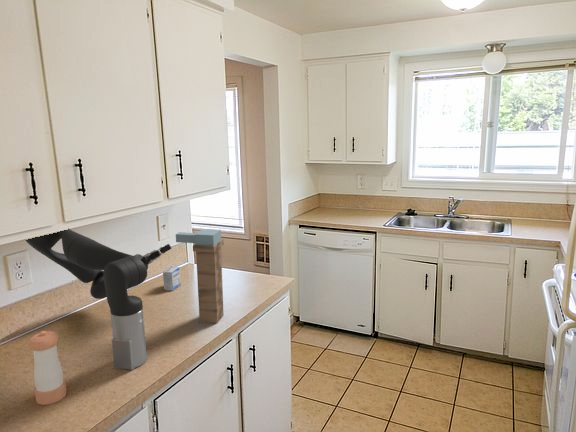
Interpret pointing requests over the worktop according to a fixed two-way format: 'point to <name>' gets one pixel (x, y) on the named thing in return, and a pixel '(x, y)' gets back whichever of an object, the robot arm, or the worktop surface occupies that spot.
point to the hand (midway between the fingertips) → (164, 249)
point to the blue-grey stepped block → (200, 237)
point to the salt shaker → (47, 368)
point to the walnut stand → (209, 282)
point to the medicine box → (171, 278)
